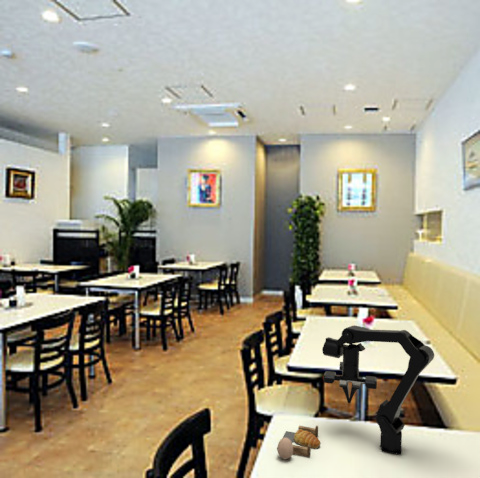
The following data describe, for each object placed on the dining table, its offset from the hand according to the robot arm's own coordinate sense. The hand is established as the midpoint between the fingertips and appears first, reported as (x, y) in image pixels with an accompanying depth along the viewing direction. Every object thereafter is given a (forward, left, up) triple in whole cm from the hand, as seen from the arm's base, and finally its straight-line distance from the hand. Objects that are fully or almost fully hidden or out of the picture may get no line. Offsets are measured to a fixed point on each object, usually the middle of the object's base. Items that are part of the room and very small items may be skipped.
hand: (349, 402), depth 168 cm
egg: (+18, +25, -12) cm, 33 cm away
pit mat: (+20, +13, -12) cm, 27 cm away
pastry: (+13, +12, -12) cm, 21 cm away
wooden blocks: (+14, +13, -12) cm, 22 cm away
